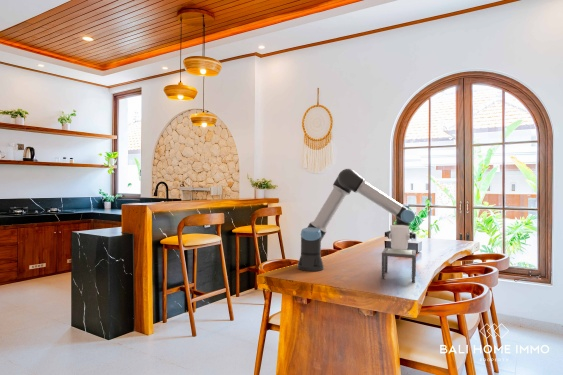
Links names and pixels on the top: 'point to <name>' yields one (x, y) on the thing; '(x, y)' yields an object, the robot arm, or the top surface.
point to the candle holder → (399, 236)
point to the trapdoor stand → (385, 256)
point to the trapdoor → (399, 251)
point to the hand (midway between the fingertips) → (398, 237)
